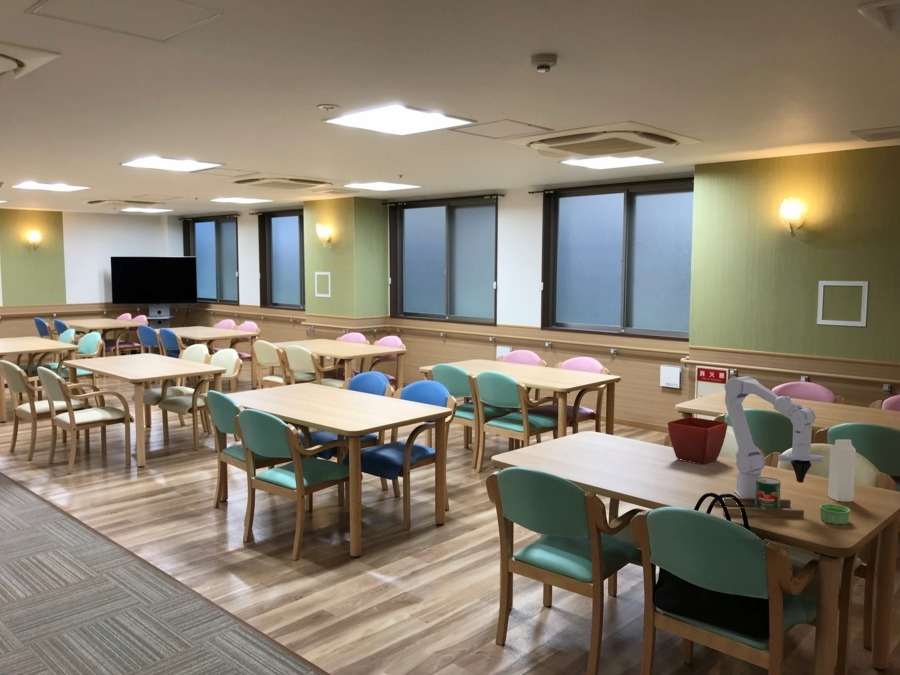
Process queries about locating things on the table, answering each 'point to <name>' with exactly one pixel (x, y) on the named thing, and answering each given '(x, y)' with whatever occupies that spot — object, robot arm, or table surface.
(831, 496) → the milk
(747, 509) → the beam channel
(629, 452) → the table surface
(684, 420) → the plant pot
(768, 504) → the canned tomato
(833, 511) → the ramekin
